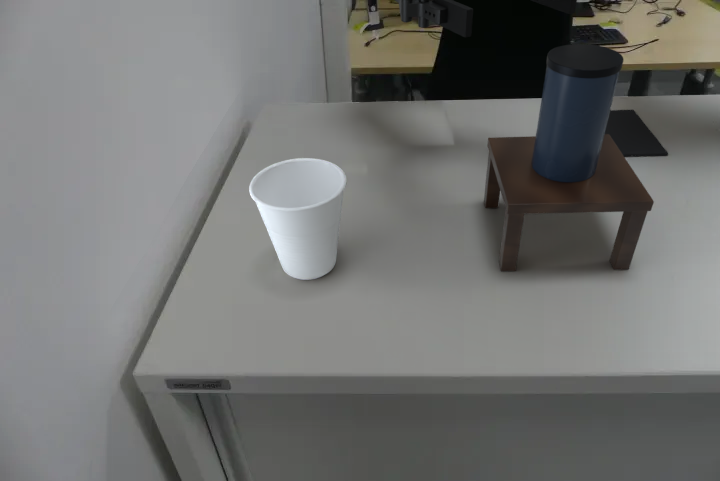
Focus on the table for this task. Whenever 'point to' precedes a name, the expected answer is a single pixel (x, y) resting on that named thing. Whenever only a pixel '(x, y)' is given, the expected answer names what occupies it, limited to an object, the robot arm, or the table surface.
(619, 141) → the mat
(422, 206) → the table surface
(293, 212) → the cup
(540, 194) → the small brown wooden table
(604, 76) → the blue lidded tin
